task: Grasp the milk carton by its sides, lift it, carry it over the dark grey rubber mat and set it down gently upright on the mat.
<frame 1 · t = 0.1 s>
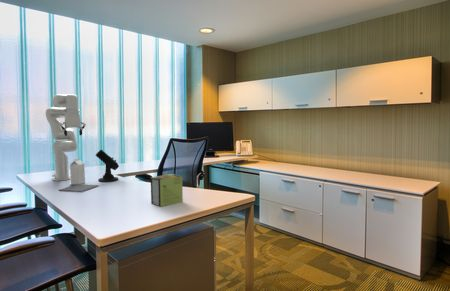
hand: (73, 135, 216), 37 cm above the table, tool pointing down, fingers open, 9 cm apart
protein box: (167, 202, 174), on the table
rubber mat: (79, 188, 210), on the table
milk carton: (78, 183, 226), on the table
microphone: (108, 180, 238), on the table
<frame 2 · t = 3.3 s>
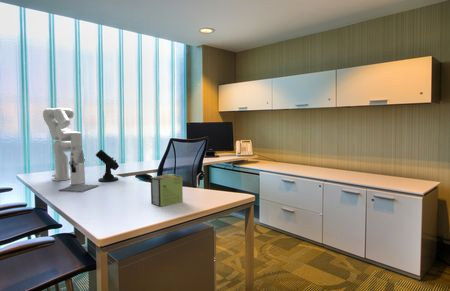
hand: (77, 171, 225), 9 cm above the table, tool pointing down, fingers closed on milk carton, 7 cm apart
milk carton: (78, 183, 226), on the table, touching gripper
everything else where it was.
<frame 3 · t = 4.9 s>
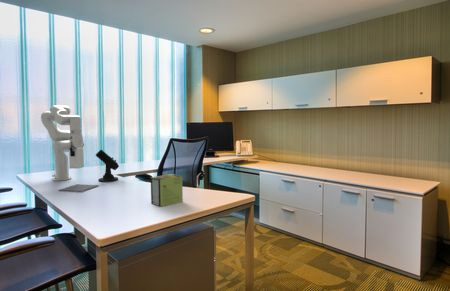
hand: (76, 155, 224), 22 cm above the table, tool pointing down, fingers closed on milk carton, 7 cm apart
milk carton: (76, 168, 225), point 12 cm above the table, touching gripper
everything else where it was.
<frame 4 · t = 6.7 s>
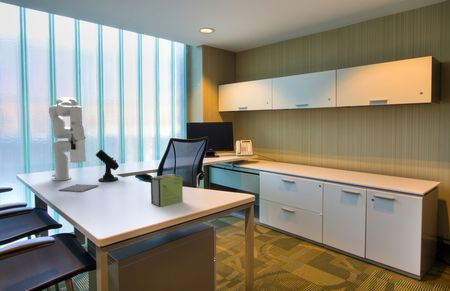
hand: (77, 148, 208), 28 cm above the table, tool pointing down, fingers closed on milk carton, 7 cm apart
milk carton: (78, 162, 209), point 19 cm above the table, touching gripper
everything else where it was.
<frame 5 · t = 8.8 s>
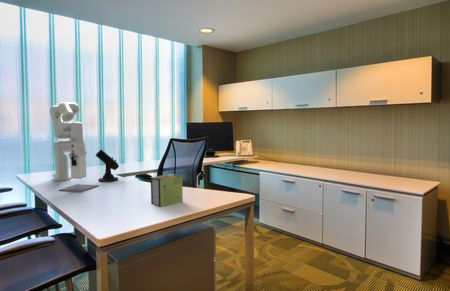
hand: (78, 164, 208), 17 cm above the table, tool pointing down, fingers closed on milk carton, 7 cm apart
milk carton: (78, 178, 209), point 7 cm above the table, touching gripper
everything else where it was.
when the fingers open (11 cm above the table, at t = 10.5 s): milk carton drops 1 cm, resting on rubber mat.
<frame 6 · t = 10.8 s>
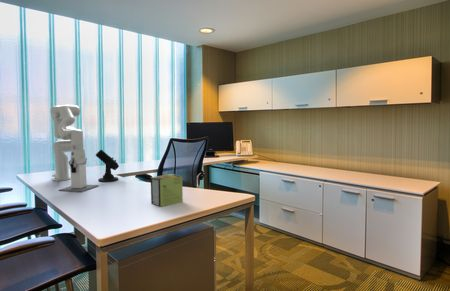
hand: (78, 171, 209), 12 cm above the table, tool pointing down, fingers open, 9 cm apart
milk carton: (79, 187, 210), point 1 cm above the table, touching rubber mat
everything else where it was.
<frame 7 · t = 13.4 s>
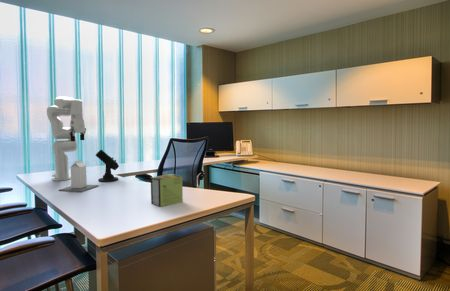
hand: (77, 140, 214), 33 cm above the table, tool pointing down, fingers open, 9 cm apart
nothing on the table moved.
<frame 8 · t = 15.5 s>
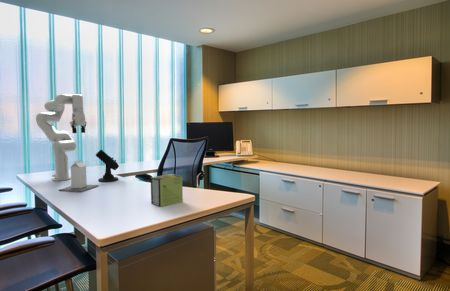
hand: (78, 133, 229), 38 cm above the table, tool pointing down, fingers open, 9 cm apart
nothing on the table moved.
at the end: milk carton inside the target area on the rubber mat (0.3 cm from its centre), point 0.6 cm above the rubber mat's base; milk carton tilted 0°; the gripper is holding nothing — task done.
